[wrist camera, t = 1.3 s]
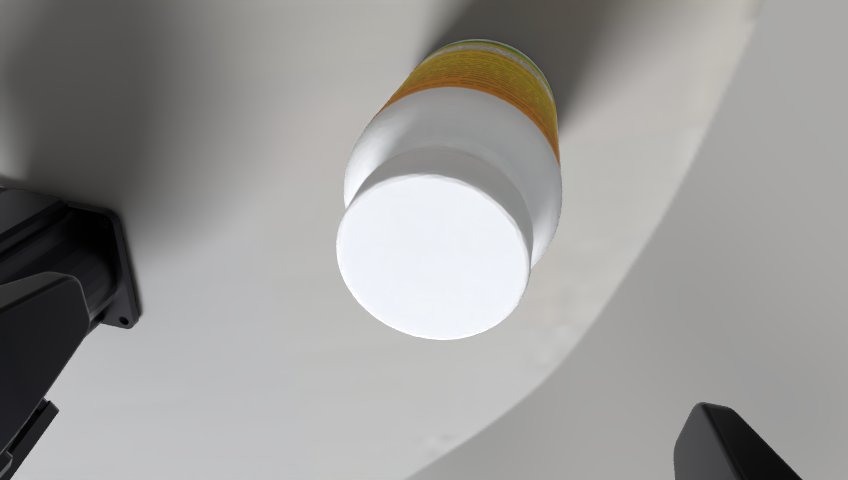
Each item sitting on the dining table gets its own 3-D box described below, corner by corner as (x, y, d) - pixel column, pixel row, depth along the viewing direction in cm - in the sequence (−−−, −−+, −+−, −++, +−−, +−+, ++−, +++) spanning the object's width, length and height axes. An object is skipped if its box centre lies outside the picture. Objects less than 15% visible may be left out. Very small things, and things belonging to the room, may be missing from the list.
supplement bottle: (391, 43, 19) (270, 142, 10) (556, 28, 17) (570, 125, 9) (412, 189, 21) (328, 363, 13) (556, 185, 20) (567, 372, 12)
